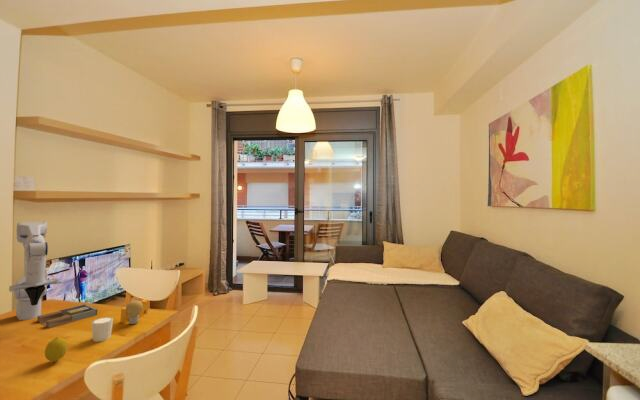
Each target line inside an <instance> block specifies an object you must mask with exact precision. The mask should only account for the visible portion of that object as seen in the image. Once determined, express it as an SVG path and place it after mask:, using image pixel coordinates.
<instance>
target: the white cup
mask: <svg viewBox="0 0 640 400" xmlns="http://www.w3.org/2000/svg"><path fill="white" fill-rule="evenodd" d="M113 322H114V318H113V317H111V316H110V317H109V316H107V317H106V316H105V317H100V318H96V319H94V320H92V321H91V332H92V333H91V335H92V342H95V343H96V342H97V343H98V342H103V341H107V340H109V339H110V338H111V336H112V330H113Z"/></svg>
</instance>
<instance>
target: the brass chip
mask: <svg viewBox="0 0 640 400" xmlns="http://www.w3.org/2000/svg"><path fill="white" fill-rule="evenodd" d="M79 313H80V310H78V309H74V310H70V311H67V315H70V316H71V315H75V314H79Z"/></svg>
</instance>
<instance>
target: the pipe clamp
mask: <svg viewBox="0 0 640 400" xmlns="http://www.w3.org/2000/svg"><path fill="white" fill-rule="evenodd" d="M140 301H141V302H142V304H143V308H142V311H141V312H140V313H139V318H141V317H144V316H145V315H148V311H149V310H148V307H149V305H148V304H149V300H147V299H142V300H140ZM120 309H121V310H120V324H127V323H128V324H129V315H128V314H127V312H126V306H124V307H122V308H120Z"/></svg>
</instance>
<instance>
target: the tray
mask: <svg viewBox="0 0 640 400" xmlns="http://www.w3.org/2000/svg"><path fill="white" fill-rule="evenodd" d="M82 307H88V308H90V311H87V312H83V313H79V314H75V315H71V316H72V321H74V322H77V321H80V319H81V320H84V319H87V317H88V318H91V316H92V317H95V316H98V308H95V307H93V306H91V305H88V304H87V303H84V304H83V303H82V304H80V305H76V306H72V307H68V308H62V309H60V310H59V311H62V312H63V315H66V314H67V311H70V310H74V309H78V308H82ZM94 315H95V316H94ZM83 318H84V319H83ZM76 320H77V321H76Z"/></svg>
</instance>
